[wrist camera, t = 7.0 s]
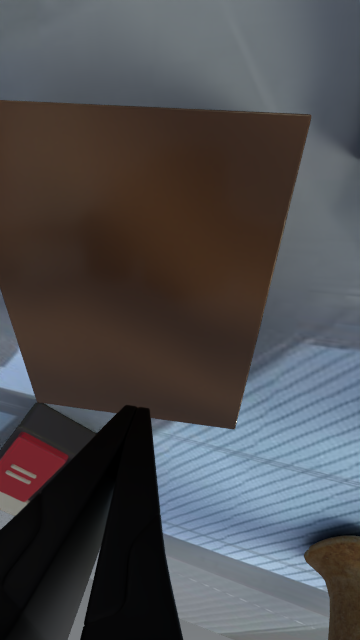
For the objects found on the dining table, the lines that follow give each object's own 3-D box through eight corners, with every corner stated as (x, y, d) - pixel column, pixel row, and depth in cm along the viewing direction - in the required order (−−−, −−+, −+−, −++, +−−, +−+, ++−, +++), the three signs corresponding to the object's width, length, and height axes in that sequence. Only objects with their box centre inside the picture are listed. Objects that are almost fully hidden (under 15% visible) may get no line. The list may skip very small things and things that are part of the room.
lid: (234, 420, 17) (235, 429, 16) (43, 394, 18) (36, 402, 17) (306, 117, 9) (312, 114, 8) (-46, 100, 10) (-63, 96, 9)
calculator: (122, 490, 25) (53, 541, 31) (133, 448, 29) (70, 501, 35) (13, 432, 22) (-38, 500, 29) (41, 395, 26) (-10, 462, 32)
